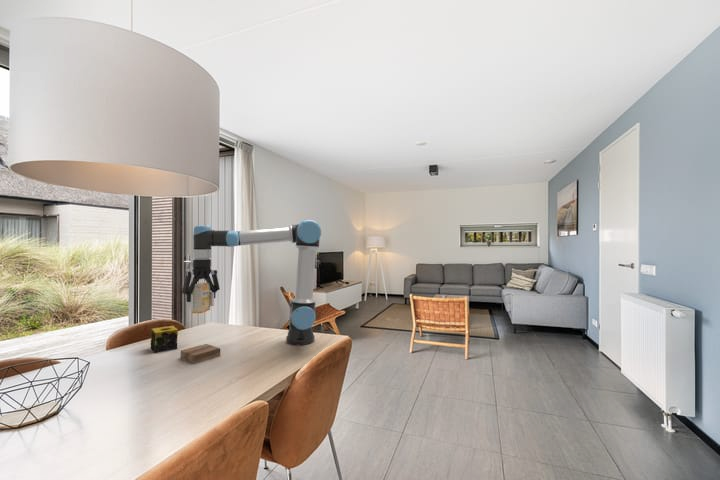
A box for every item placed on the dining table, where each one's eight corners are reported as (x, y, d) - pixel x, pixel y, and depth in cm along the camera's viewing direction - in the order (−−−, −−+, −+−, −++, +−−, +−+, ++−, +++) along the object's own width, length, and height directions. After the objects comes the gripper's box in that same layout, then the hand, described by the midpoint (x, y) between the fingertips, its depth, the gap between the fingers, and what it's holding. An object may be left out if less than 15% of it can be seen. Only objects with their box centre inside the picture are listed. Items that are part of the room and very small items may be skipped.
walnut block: (220, 357, 145) (220, 348, 145) (194, 365, 135) (194, 355, 135) (206, 352, 151) (206, 343, 152) (180, 359, 142) (180, 350, 142)
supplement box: (201, 313, 140) (202, 284, 140) (191, 313, 140) (191, 284, 140) (210, 309, 148) (211, 282, 148) (200, 309, 148) (201, 282, 148)
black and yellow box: (150, 348, 155) (150, 328, 156) (173, 344, 162) (173, 325, 162) (153, 353, 148) (154, 332, 148) (177, 349, 155) (178, 329, 155)
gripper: (219, 258, 155) (218, 303, 155) (173, 259, 137) (172, 310, 137) (228, 258, 151) (227, 304, 151) (181, 259, 133) (180, 312, 133)
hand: (201, 307), depth 144 cm, fingers closed on supplement box, 9 cm apart
